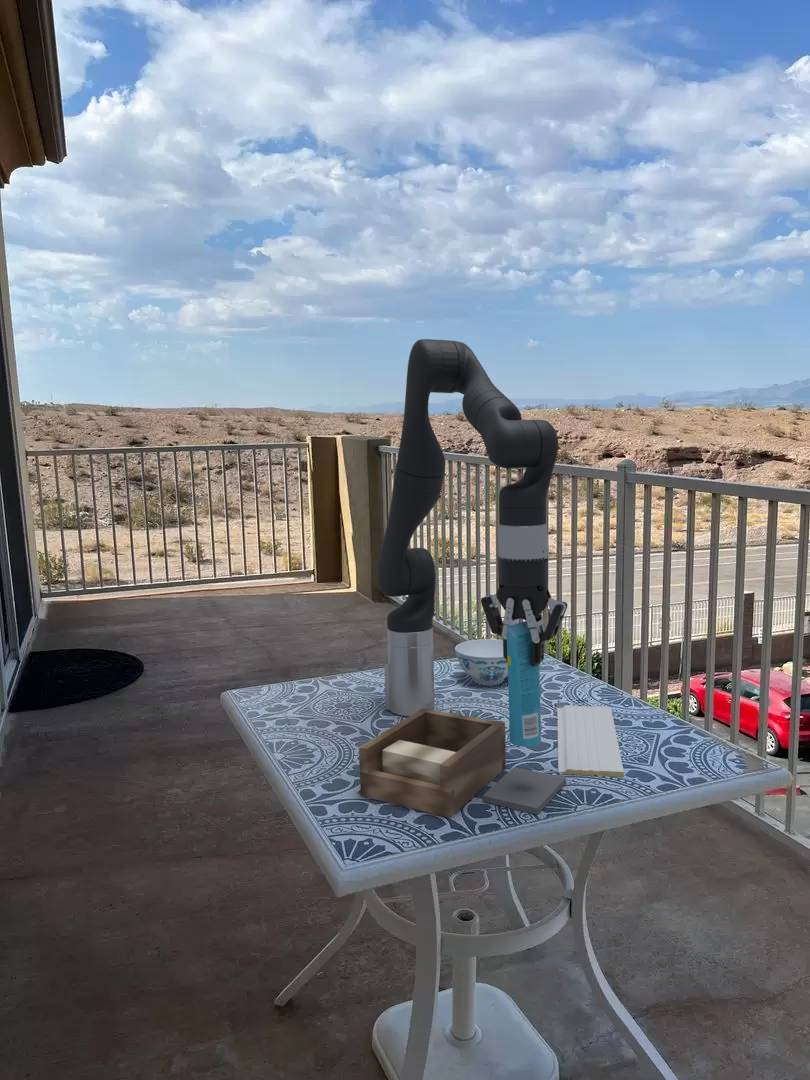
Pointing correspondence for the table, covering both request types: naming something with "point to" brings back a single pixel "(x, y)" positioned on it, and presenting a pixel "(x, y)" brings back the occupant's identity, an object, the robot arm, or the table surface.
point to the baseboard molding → (588, 741)
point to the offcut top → (415, 758)
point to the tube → (522, 688)
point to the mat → (524, 790)
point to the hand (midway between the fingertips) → (523, 662)
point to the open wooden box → (458, 774)
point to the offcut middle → (410, 775)
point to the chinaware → (483, 660)
